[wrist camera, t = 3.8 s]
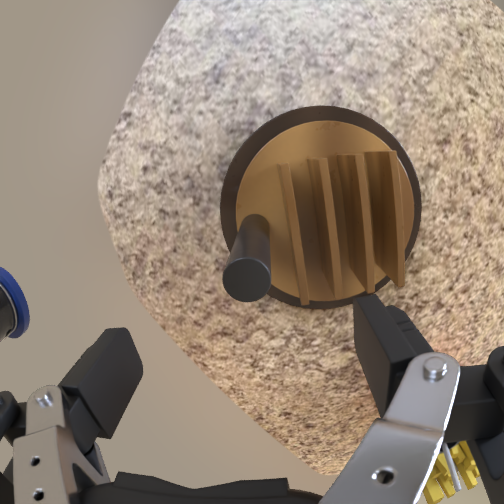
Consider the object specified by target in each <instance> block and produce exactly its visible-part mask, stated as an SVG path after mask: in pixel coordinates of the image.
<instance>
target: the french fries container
mask: <svg viewBox="0 0 504 504" xmlns="http://www.w3.org/2000/svg"><path fill="white" fill-rule="evenodd" d="M449 452H450V455H451V458H452V461H453V464H454V467H455V470H456V473H457V471H459V472H460V474H461V476H462V478H463V480H464V482H465V484H466V486H467V488H468V490H469V489H472V488H473V487H475V485H477V481H476V479H475V478H477V477H479V476H480V474H479V471H478V469H477V466H476V464H475V461H474V459H473V457H472V454H471V452H470V450H469V447H468V445H467V443H466V441H460V442H459V443H458V444H457V445H456V446H455V447H453V448H452V449H450V450H449ZM457 476H458V473H457ZM436 479H437V481H438V482H439V484H440V486H441V488H442V489H443V491H444V493H445V494H446V496H447V498H450V497H451V496H453V495H454V494H455V493H456V492H455V490H454V488H453V485H454V484H453V481H452V478H451V474H450V471H449V468H448V465H447V462H446V459H445V456H444V453H441V454H438V455H437V458H436V461H435V463H434V466H433V468H432V471H431V473H430V476H429V478H428V480H427V483H426V485H425V487H424V489H423V493H424V496H425V498H426V501H427V503H428V504H436V503H438V502H440V501H441V500H442V498H444V494H443V492H442V490H441V488H440V486H439V485H438V483H437V481H436ZM458 480H459V476H458Z"/></svg>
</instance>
